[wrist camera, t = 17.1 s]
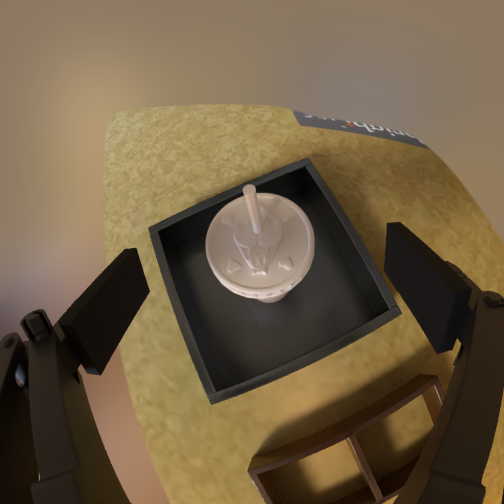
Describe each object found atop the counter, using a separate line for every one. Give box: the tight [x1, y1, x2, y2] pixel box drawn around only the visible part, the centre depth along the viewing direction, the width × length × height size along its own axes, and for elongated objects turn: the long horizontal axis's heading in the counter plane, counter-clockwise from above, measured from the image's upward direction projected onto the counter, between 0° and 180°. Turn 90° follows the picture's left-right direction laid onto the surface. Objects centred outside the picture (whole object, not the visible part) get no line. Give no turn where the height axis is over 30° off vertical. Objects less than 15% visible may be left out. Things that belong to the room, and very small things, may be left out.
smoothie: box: [206, 185, 315, 303], centre depth 19 cm, size 6×6×14 cm
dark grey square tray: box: [148, 158, 402, 405], centre depth 24 cm, size 16×16×5 cm
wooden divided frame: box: [247, 374, 445, 504], centre depth 18 cm, size 9×17×4 cm, turn 114°
